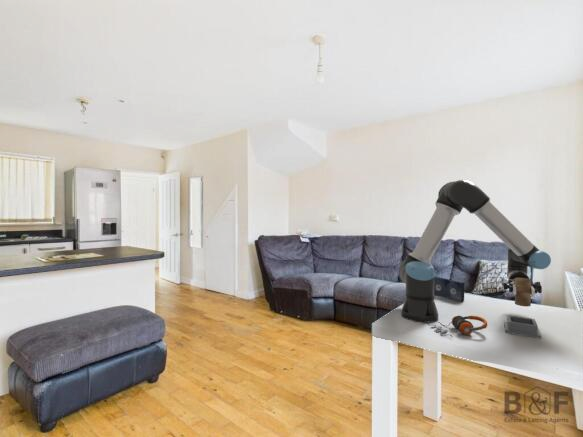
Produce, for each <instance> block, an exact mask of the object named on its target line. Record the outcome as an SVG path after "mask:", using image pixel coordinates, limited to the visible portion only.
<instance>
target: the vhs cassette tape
mask: <svg viewBox="0 0 583 437" xmlns="http://www.w3.org/2000/svg"><path fill="white" fill-rule="evenodd" d="M434 296H437V297H440V298H444V299H448V300H451V301H454V302H460V303H463V301H464V302H465V282H462V281H460V280H459V281H457V280H452V279H449V278H446V277H445V278H444V277H440V276H436V275H435V276H434Z"/></svg>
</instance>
